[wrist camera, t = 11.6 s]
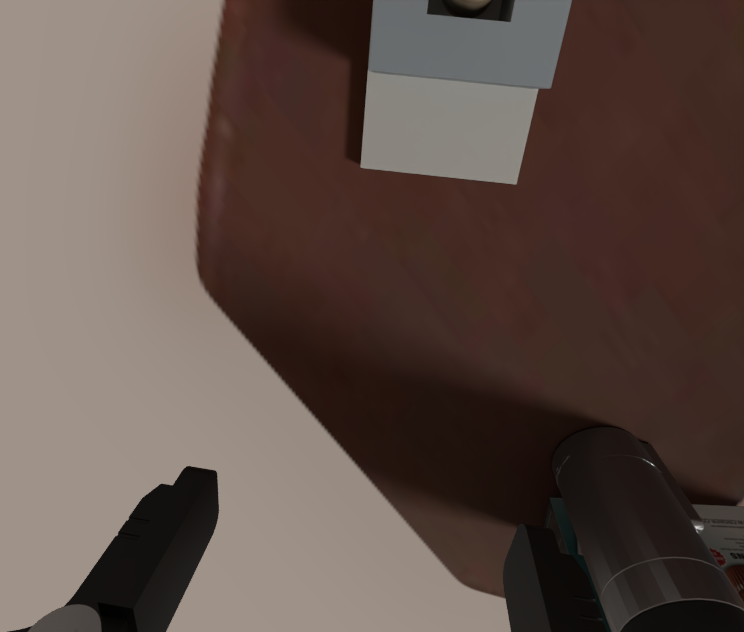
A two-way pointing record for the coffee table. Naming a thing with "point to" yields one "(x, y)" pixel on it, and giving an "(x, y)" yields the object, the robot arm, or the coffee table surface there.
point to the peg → (466, 7)
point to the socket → (457, 86)
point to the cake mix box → (721, 534)
